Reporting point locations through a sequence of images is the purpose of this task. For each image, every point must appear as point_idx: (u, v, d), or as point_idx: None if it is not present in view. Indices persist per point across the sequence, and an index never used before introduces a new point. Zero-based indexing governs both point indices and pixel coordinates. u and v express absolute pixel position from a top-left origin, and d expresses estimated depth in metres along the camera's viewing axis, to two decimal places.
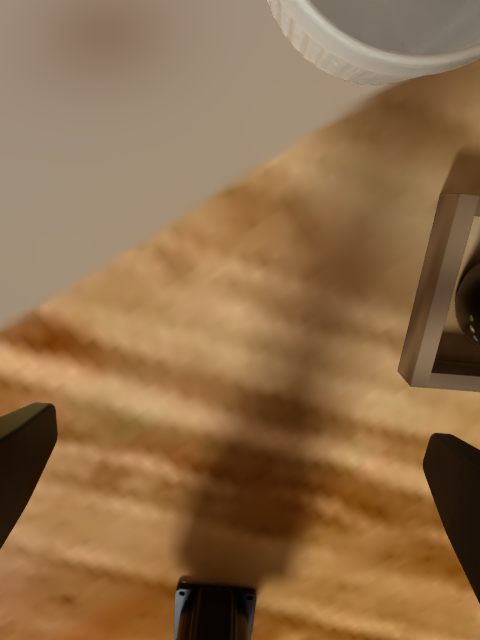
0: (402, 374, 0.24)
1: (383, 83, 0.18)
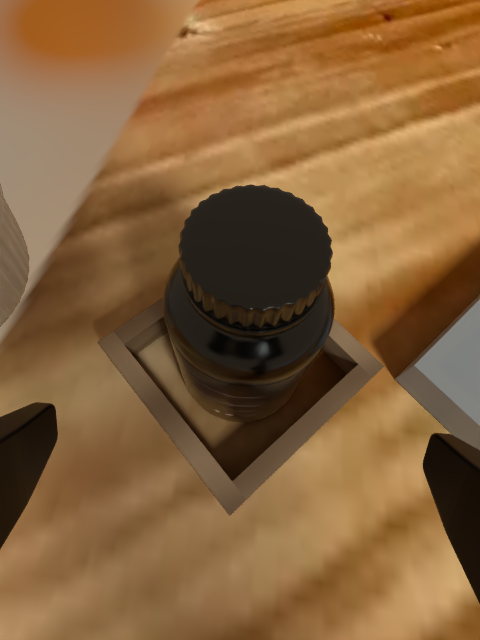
0: None
1: None
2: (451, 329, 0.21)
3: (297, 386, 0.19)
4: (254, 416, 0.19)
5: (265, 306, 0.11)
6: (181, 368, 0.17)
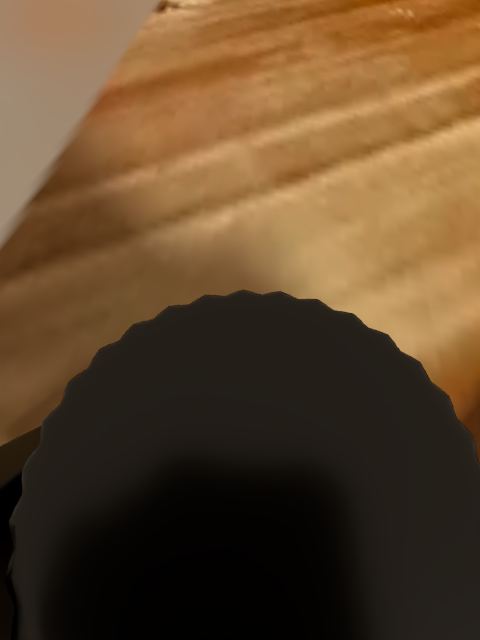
0: None
1: None
2: None
3: None
4: None
5: None
6: None
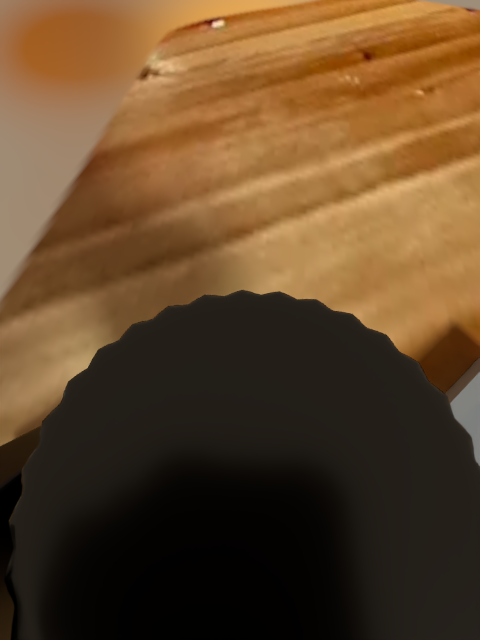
0: None
1: None
2: None
3: None
4: None
5: None
6: None
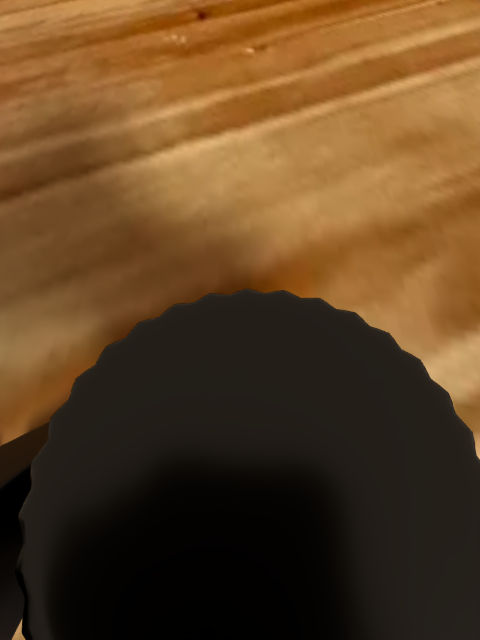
0: None
1: None
2: None
3: None
4: None
5: None
6: None
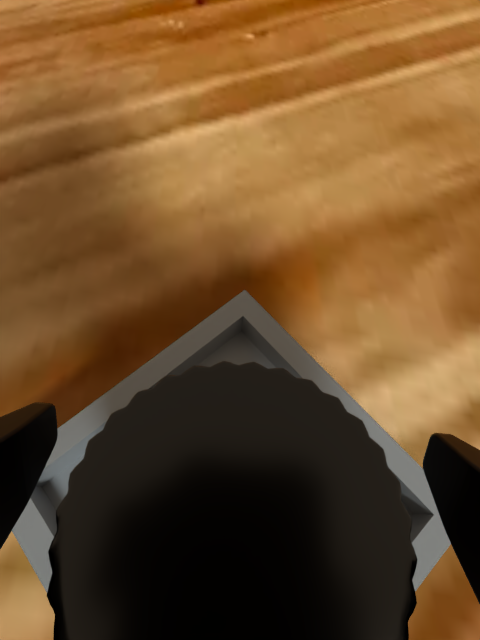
0: None
1: None
2: (66, 423, 0.15)
3: None
4: None
5: None
6: None
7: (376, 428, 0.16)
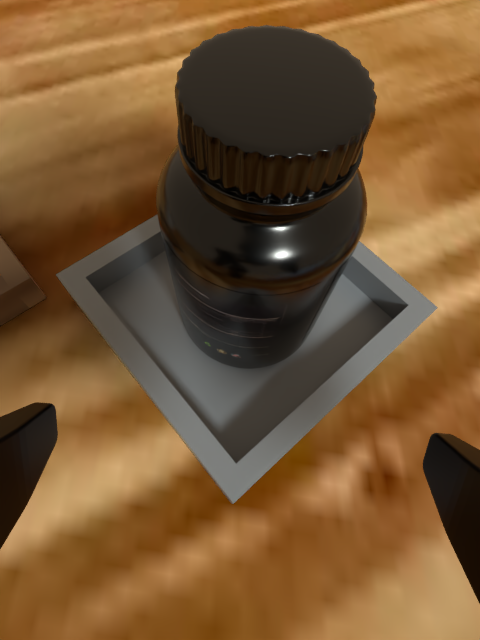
0: None
1: None
2: (117, 239, 0.19)
3: (315, 321, 0.16)
4: (265, 358, 0.17)
5: (292, 152, 0.08)
6: (179, 293, 0.14)
7: (364, 249, 0.20)
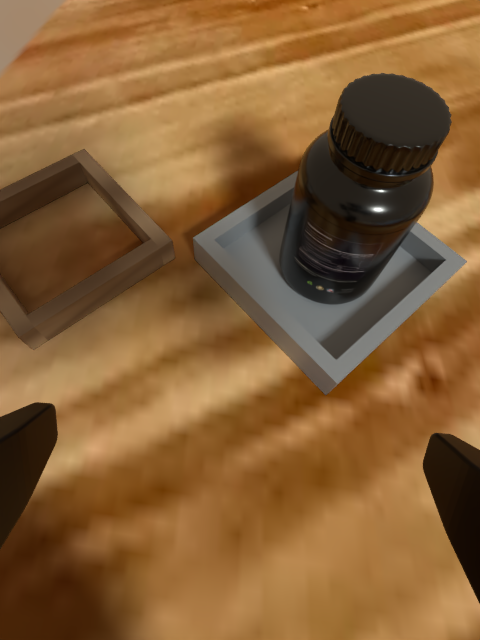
0: (27, 344, 0.23)
1: None
2: (232, 213, 0.26)
3: (385, 266, 0.23)
4: (349, 293, 0.24)
5: (412, 145, 0.15)
6: (300, 243, 0.21)
7: None
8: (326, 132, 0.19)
